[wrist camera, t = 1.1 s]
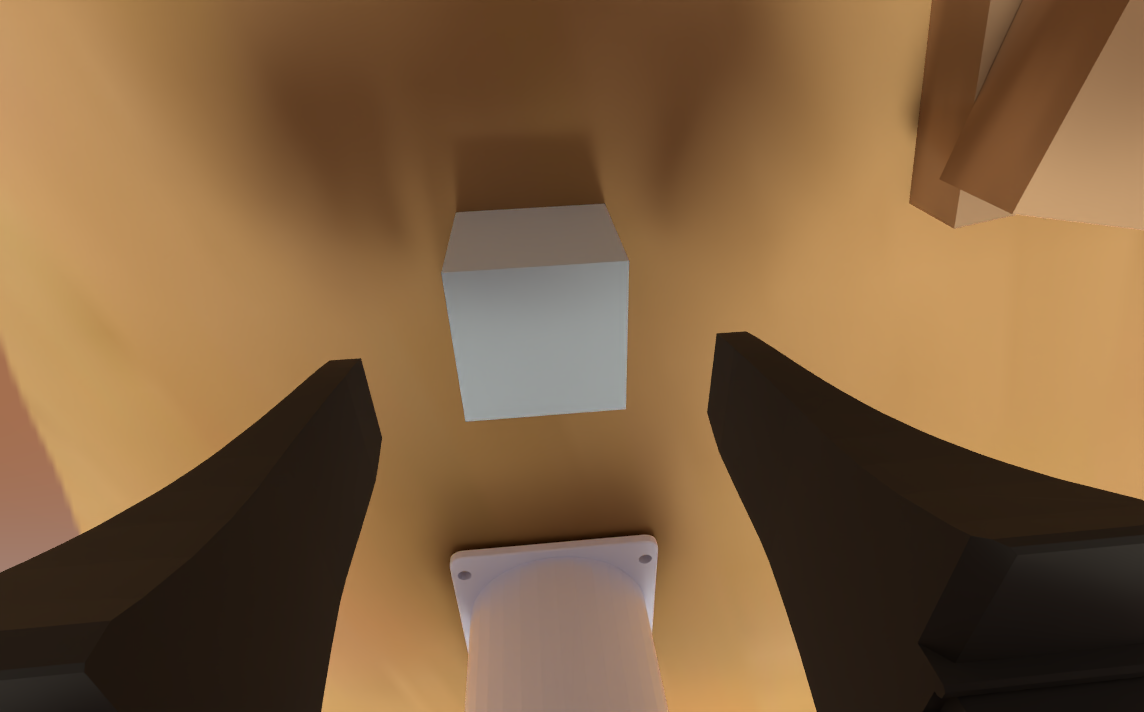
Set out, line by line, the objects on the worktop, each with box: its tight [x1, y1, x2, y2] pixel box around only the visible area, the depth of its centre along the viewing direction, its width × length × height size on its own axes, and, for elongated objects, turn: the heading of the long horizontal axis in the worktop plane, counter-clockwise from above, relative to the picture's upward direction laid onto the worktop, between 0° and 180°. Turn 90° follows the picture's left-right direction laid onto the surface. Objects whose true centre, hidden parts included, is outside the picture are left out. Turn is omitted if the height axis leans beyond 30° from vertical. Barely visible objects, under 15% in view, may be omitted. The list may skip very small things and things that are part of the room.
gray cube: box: [441, 204, 629, 422], centre depth 15 cm, size 4×4×4 cm
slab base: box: [909, 0, 1023, 229], centre depth 14 cm, size 6×6×2 cm
